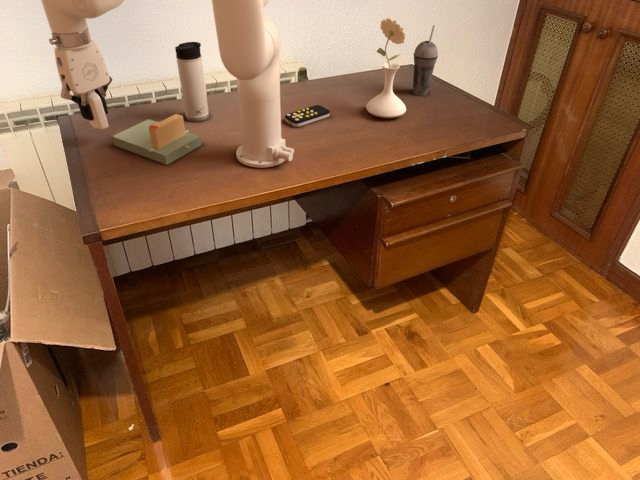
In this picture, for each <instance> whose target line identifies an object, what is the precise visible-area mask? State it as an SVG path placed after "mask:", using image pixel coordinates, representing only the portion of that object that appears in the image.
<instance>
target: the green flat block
mask: <svg viewBox="0 0 640 480" xmlns="http://www.w3.org/2000/svg"><path fill="white" fill-rule="evenodd" d="M156 123H158V121H156V120H152V119H149V118H148V119H146V120H143V121H141V122H139V123H137V124H135V125H133V126H131V127H128V128H127V129H124V130H122V131H120V132H118V133H116V134H114V135H111V138H112V142H113V144H114V146H115V147H118V148H119V149H123V150H126V151H129V152H131V153H134V154H137V155H139V156H142V157H145V158H147V159H150V160H152V161H155V162H158V163H160V164H164V165H166V166H168V165H170V164H171V163H173V162H174V161H177V160H179V159H180V158H182V157H183V156H185V155H187V154H189V153H191V152H192V151H194V150H195V149H198V148H199V147H201V146H202V137H201V135H197V134H195V133H192V132H190V129H187V130H185V133H186V135H184V136H183V137H181V138H179V139H177V140H175V141H173V142H171V143H169V144H167V145H166V146H164V147H162V148H160V149H158V148H155V147H153V146H152V142H151V137H150V132H149V126H151V125H154V124H156Z"/></svg>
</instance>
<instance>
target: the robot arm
mask: <svg viewBox="0 0 640 480" xmlns="http://www.w3.org/2000/svg"><path fill="white" fill-rule="evenodd" d="M40 2H41V4H42V7H43V11H44V14H45V17H46V20H47V23H48V26H49V29H50V32H51V36H52V37H51V38H48V42H49V44H50V45H51V46H53V45H55V47H54V48H53V49H54V50H53V51H54V59H55V65H56V68H57V69H56V70H57V73H58V77H59V80H60V83H61V91H60V98H61V99H64V100H68V101H71V102H73V103H75V104H77V105H78V108H79V112H80V116H81V117H82V118H83V119H85V120H86V121H89V120H90V121H92V120H93V119H94V118H93V115H92V111H91V108H90V105H89V104H87V102H86V96H85V93H87V92H89V91H92V90H95V93H97V94H98V95H99V97H100V98H101V101H102V104H103V108H104V111H105V115H108V114H109V110H108V104H107V101H106V98H107V94H106V93H107V90H108V88H109V86H110V85H111V83H112V82H113V78H112V77H111V76H110V74H109V71H108V67H107V65H106V62H105V58H104V57H103V54H102V52H101V49H100V47H99V45H98V44H97V42H96V40H94V39H92V37H91V33H90V29H89V26H88V22H87V20H88V19H89V20H90V19H91V20H92V19H96V18H99V17H101V16H103V15H105V14H107V13H108V12H110V11H112V10H115V9H117V8H119V6H121V5H122V4H123V3H124V2H125V0H40ZM269 2H270V0H211V4H212V12H213V18H214V25H215V32H216V38H217V46H218V52H219V57H220V60H221V62H222V65H223V67H224V68H225V69H226V71H227V72H228V73H229V74H230V75H231V76H233V77H234V78H236V89H237V90H236V91H237V103H238V114H239V116H238V117H239V128H240V138H241V139H240V140H241V145H239V146H238V148H237V149H236V152H235V156H236V159H237V161H238V162H239V163H241V164H242V165H244V166H247V167H249V168H250V167H251V168H256V169H257V168H258V169H259V168H260V169H263V168H271V167H276V166H279V165H281V164H282V163H284V162H285V161H287V162H291V161H293V159H294V153H295V149H294V148H292V147H289V146H287V145H286V139H285V138H282V115H281V114H282V112H281V111H282V110H281V59H282V58H281V57H282V41H281V40H282V39H281V35H280V32H279V29H278V27H277V26H276V25H275V23H274V22H273V21H272V20H271V19H269V18H267V17H266V16H265V15H264V14H265V13H264V8H265V7H266V6H267V5H268V4H269ZM71 92H72V94H71Z"/></svg>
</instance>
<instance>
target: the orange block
mask: <svg viewBox="0 0 640 480" xmlns="http://www.w3.org/2000/svg"><path fill="white" fill-rule="evenodd" d="M157 122H158V121H157ZM185 131H186V127H185V122H184V116H183V115H181V114H178V113H175V114H172V115H171V116H169V117H167V118H165V119H163V120H161V121H159V122H158V123H156V124H154V125H151V126H149V132H150V137H151V142H152V146H153V147H155V148H158V149H160V148H162V147H164V146H166V145H167V144H169V143H171V142H173V141H175V140H177V139H179V138H181V137H183V136H184V135H186V133H185Z"/></svg>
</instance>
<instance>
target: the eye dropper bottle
mask: <svg viewBox="0 0 640 480" xmlns="http://www.w3.org/2000/svg"><path fill="white" fill-rule="evenodd" d="M85 96H86V102H87V104H89V105H90V108H91V111H92V115H93V118H94V119H93V120H92V121H90V120H88V122H89V125H90V126H91V128H92V129H95V130H98V131H103V130H105V129H108V128H109V126H110V125H109V121H108V118H107V114H105V111H104V108H103V104H102V101H101V98H100V97H99V95H98V94H97V93H95V90H92V91H89V92H87V93H85Z"/></svg>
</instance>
